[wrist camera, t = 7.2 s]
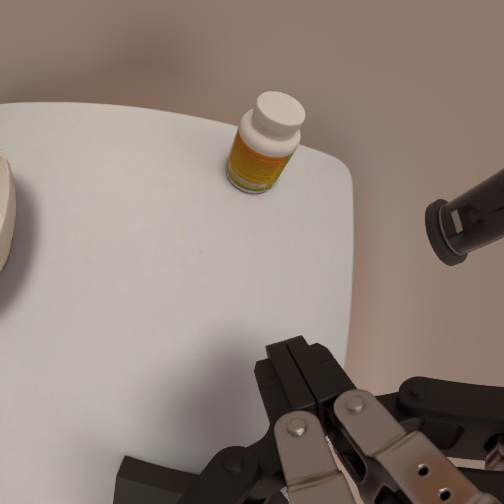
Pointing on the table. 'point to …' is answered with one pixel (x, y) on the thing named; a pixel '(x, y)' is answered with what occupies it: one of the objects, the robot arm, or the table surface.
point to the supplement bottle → (265, 142)
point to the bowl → (6, 209)
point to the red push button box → (157, 484)
